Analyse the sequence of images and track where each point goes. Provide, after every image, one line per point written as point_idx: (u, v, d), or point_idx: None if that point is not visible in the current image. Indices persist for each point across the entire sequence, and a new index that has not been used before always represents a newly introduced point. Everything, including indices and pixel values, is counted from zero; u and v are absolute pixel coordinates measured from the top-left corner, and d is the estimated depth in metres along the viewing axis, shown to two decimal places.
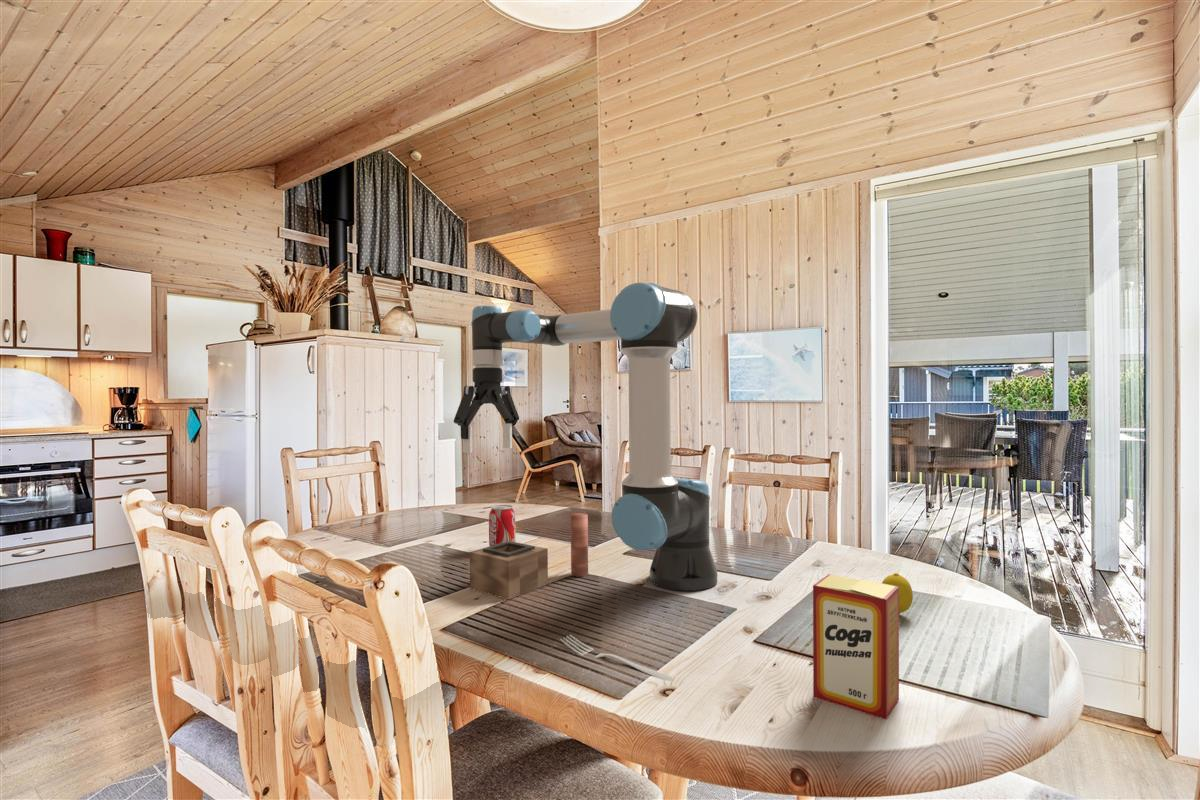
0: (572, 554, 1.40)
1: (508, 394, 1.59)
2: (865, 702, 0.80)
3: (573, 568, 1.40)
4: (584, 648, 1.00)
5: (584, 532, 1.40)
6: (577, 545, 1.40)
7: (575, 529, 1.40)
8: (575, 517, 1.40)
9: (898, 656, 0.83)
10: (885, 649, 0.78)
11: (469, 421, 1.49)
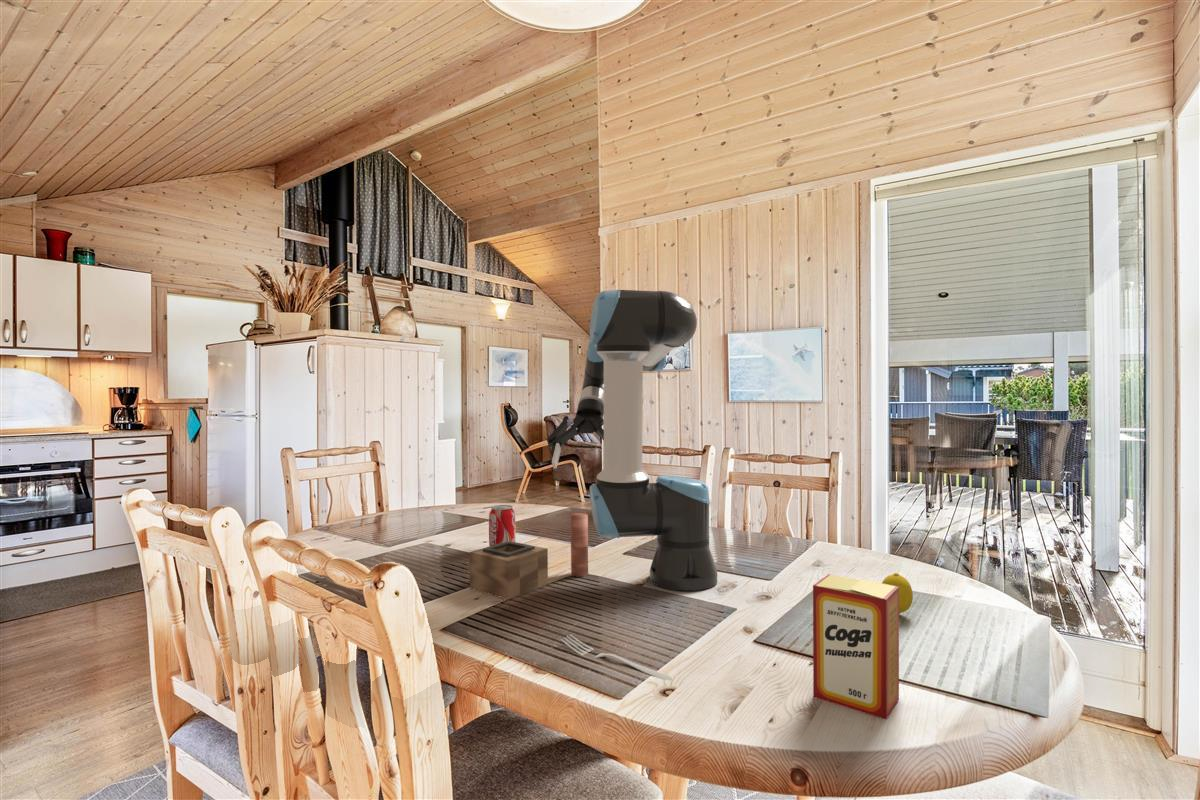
0: (572, 554, 1.40)
1: None
2: (865, 702, 0.80)
3: (573, 568, 1.40)
4: (584, 648, 1.00)
5: (584, 532, 1.40)
6: (577, 545, 1.40)
7: (575, 529, 1.40)
8: (575, 517, 1.40)
9: (898, 656, 0.83)
10: (885, 649, 0.78)
11: (557, 440, 1.62)
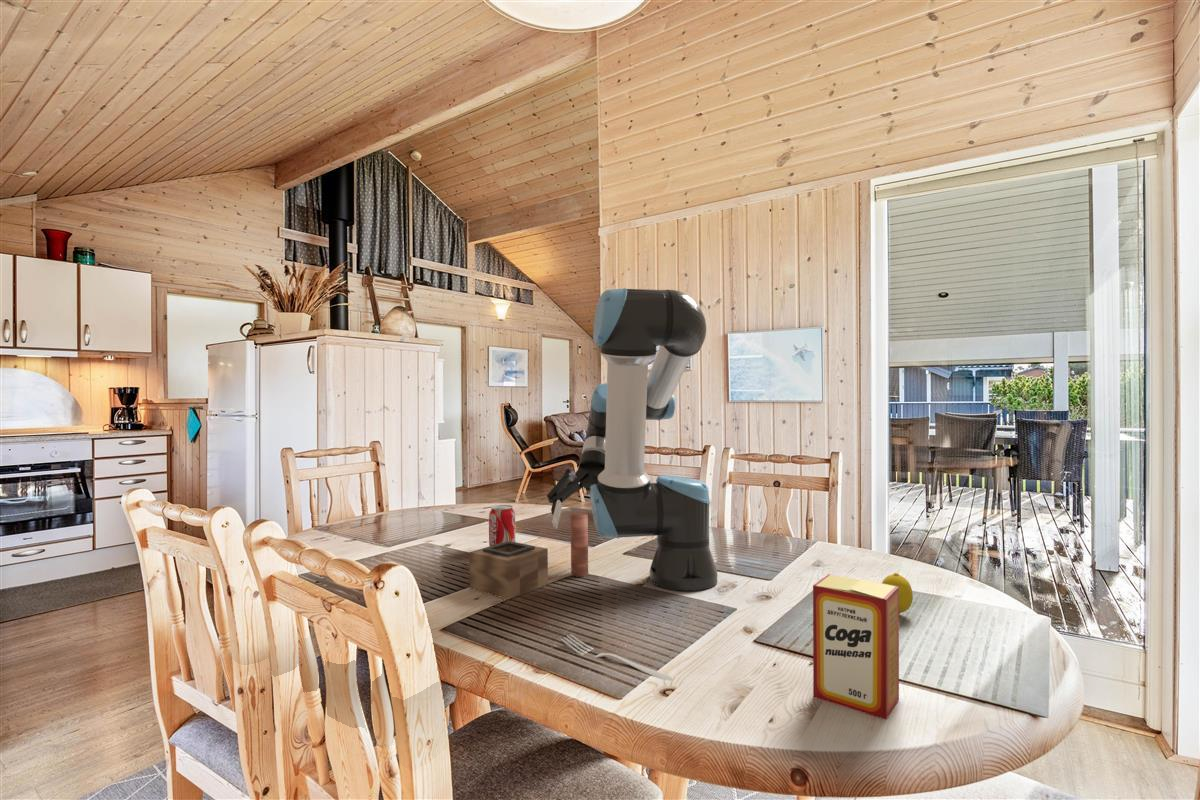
0: (572, 554, 1.40)
1: None
2: (865, 702, 0.80)
3: (573, 568, 1.40)
4: (584, 648, 1.01)
5: (584, 532, 1.40)
6: (577, 545, 1.40)
7: (575, 529, 1.40)
8: (575, 517, 1.40)
9: (898, 656, 0.83)
10: (885, 649, 0.78)
11: (558, 496, 1.52)
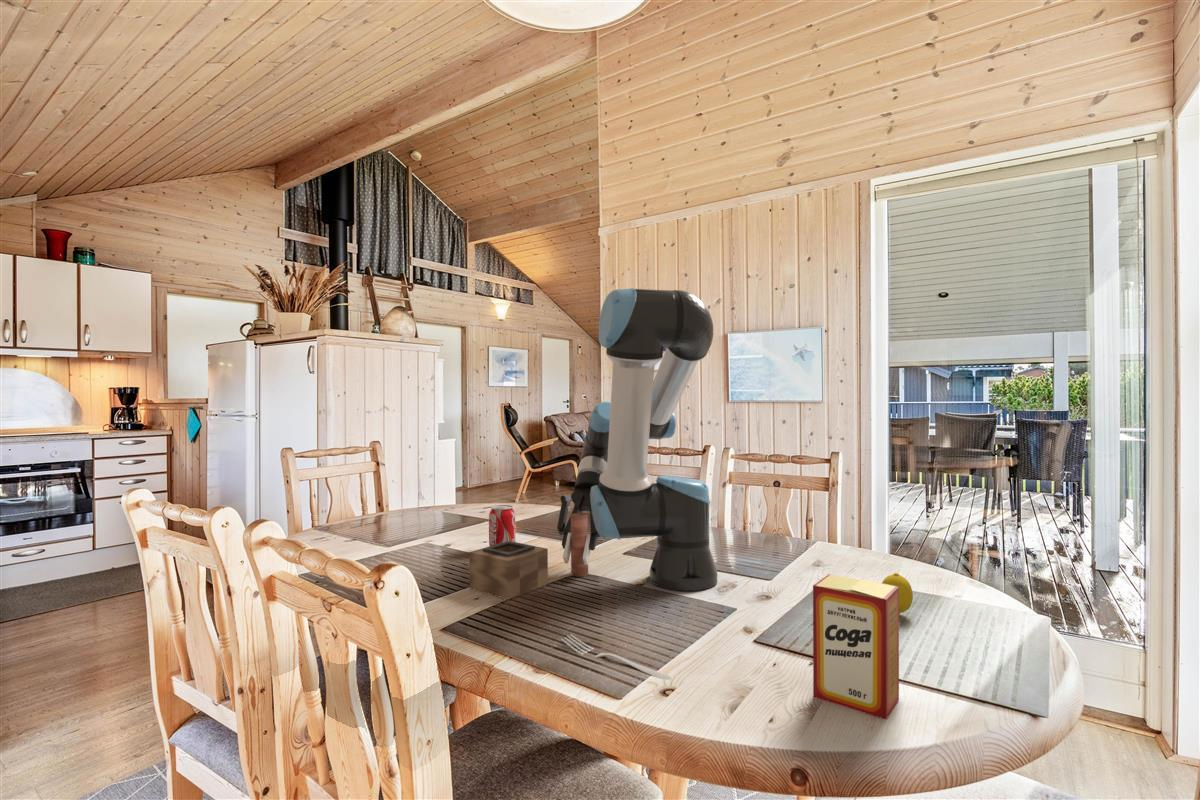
0: (572, 554, 1.40)
1: None
2: (865, 702, 0.80)
3: (573, 568, 1.40)
4: (584, 647, 1.01)
5: (584, 532, 1.40)
6: (577, 545, 1.40)
7: (575, 529, 1.40)
8: (575, 517, 1.40)
9: (898, 656, 0.83)
10: (885, 649, 0.78)
11: (568, 527, 1.43)
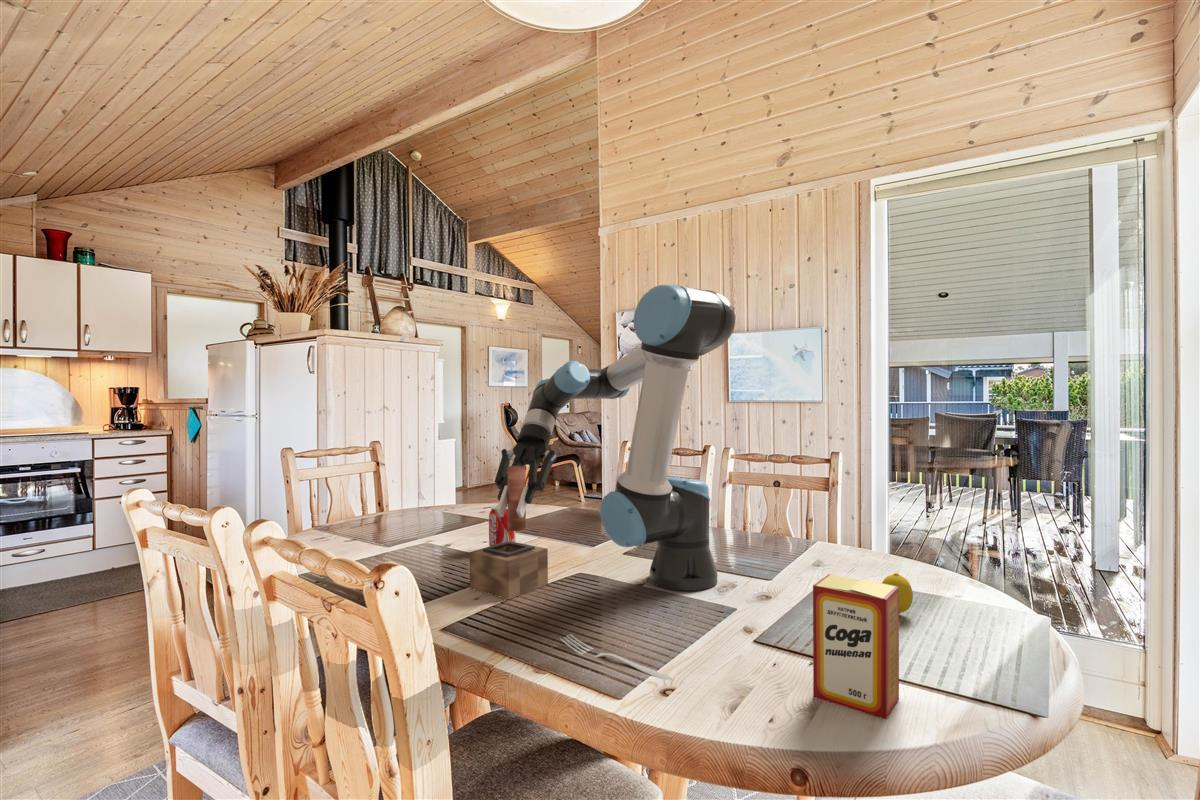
0: (508, 507, 1.35)
1: (547, 457, 1.40)
2: (865, 702, 0.80)
3: (509, 522, 1.35)
4: (584, 648, 1.01)
5: (520, 484, 1.34)
6: (513, 498, 1.34)
7: (511, 481, 1.34)
8: (511, 469, 1.34)
9: (898, 656, 0.83)
10: (885, 649, 0.78)
11: (505, 480, 1.37)
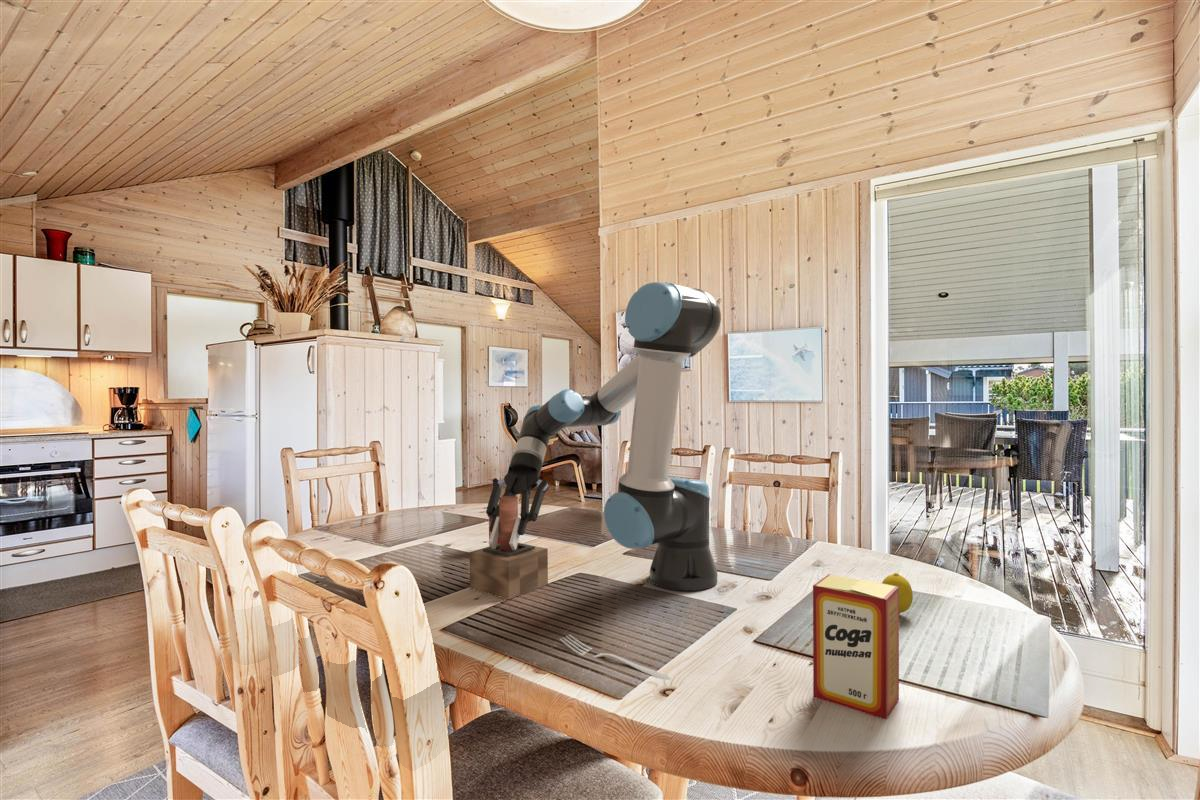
0: (500, 539, 1.32)
1: (539, 486, 1.38)
2: (865, 702, 0.80)
3: None
4: (583, 648, 1.00)
5: (513, 515, 1.32)
6: (505, 530, 1.31)
7: (503, 513, 1.31)
8: (503, 500, 1.31)
9: (898, 656, 0.83)
10: (885, 649, 0.78)
11: (497, 511, 1.35)
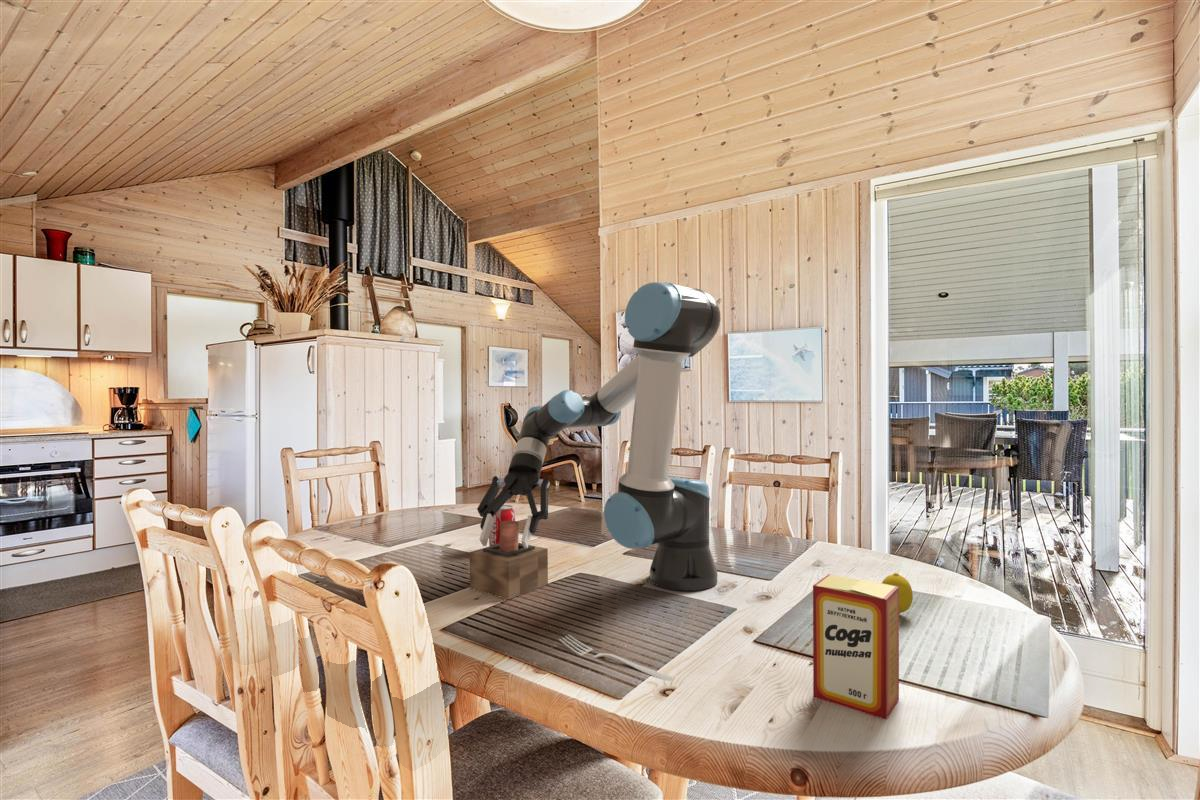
0: None
1: (542, 485, 1.38)
2: (865, 702, 0.80)
3: None
4: (583, 648, 1.00)
5: (513, 541, 1.32)
6: None
7: (504, 538, 1.31)
8: (504, 525, 1.31)
9: (898, 656, 0.83)
10: (885, 649, 0.78)
11: (488, 509, 1.36)
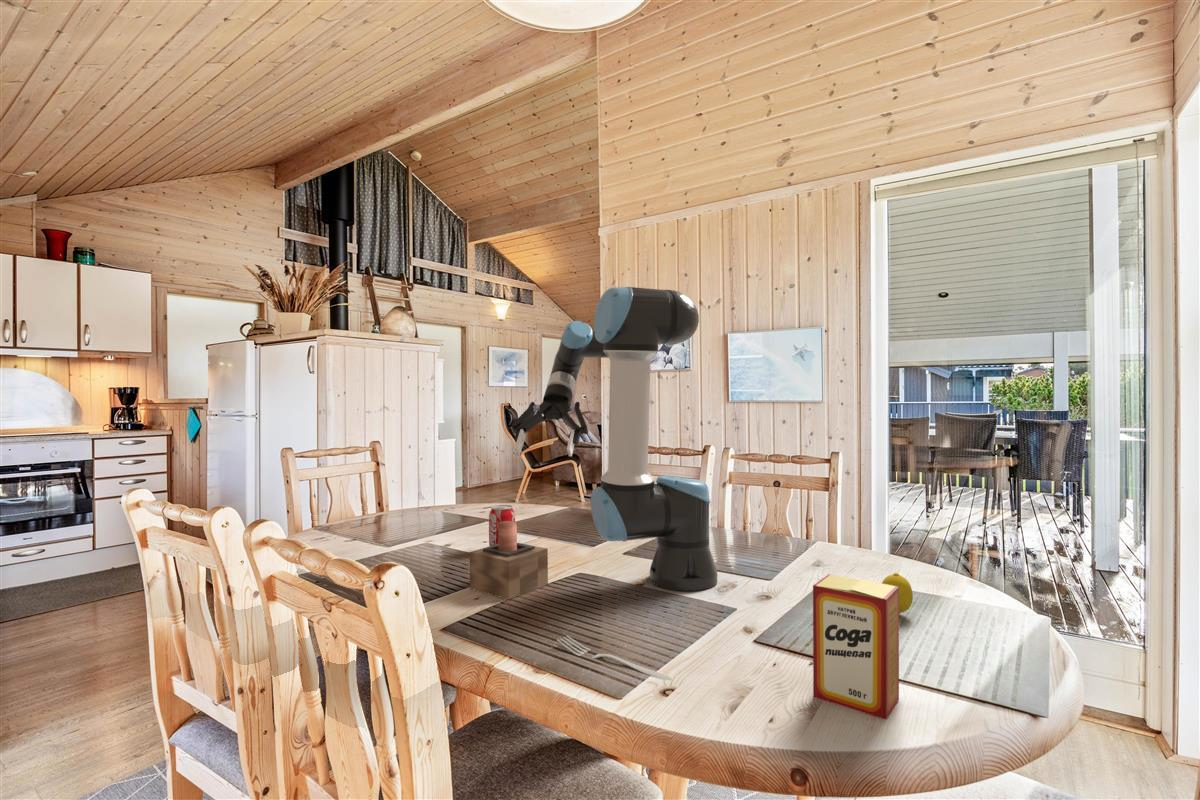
0: None
1: (576, 407, 1.58)
2: (865, 702, 0.80)
3: None
4: (581, 649, 1.00)
5: (512, 541, 1.32)
6: None
7: (502, 538, 1.31)
8: (502, 526, 1.31)
9: (898, 656, 0.83)
10: (885, 649, 0.78)
11: (521, 426, 1.57)
